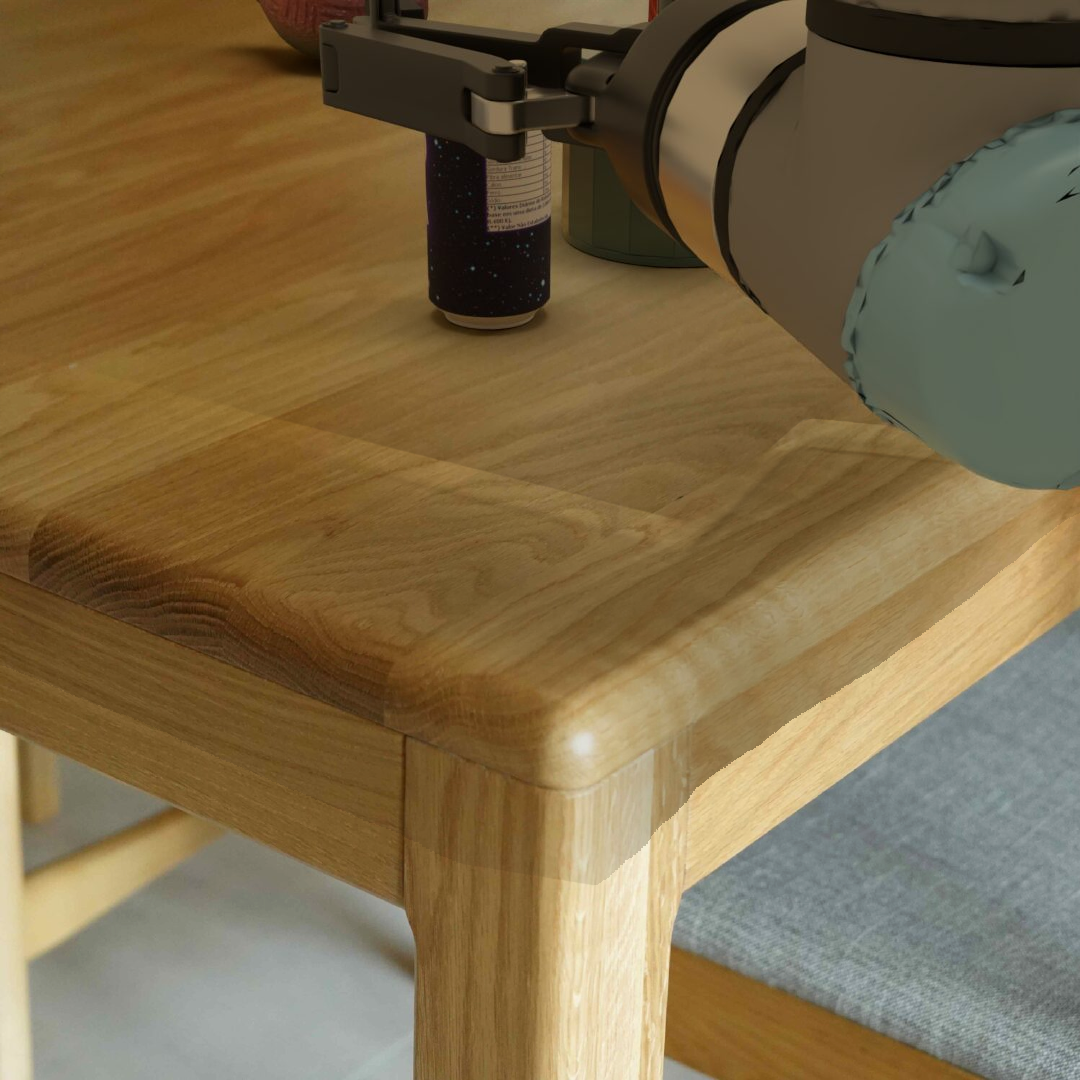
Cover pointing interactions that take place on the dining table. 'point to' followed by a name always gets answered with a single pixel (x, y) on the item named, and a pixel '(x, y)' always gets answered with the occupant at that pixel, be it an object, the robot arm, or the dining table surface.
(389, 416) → the dining table surface
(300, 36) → the bowl
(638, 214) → the pot
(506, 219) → the beverage can
